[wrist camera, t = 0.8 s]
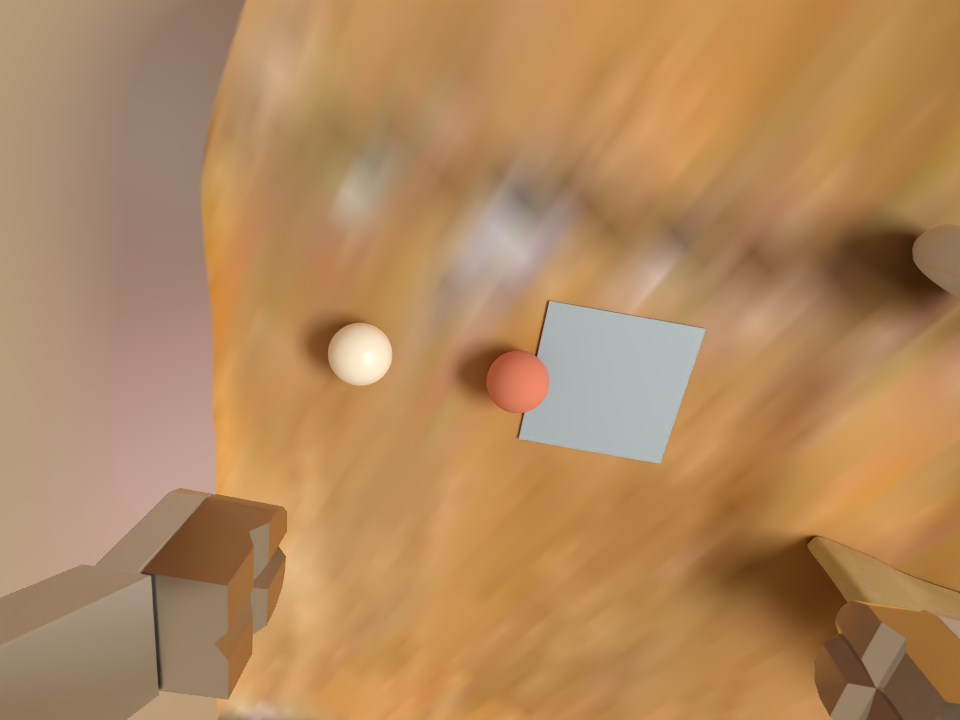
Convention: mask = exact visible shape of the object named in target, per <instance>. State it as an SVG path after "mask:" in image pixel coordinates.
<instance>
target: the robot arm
mask: <svg viewBox="0 0 960 720" xmlns="http://www.w3.org/2000/svg"><path fill="white" fill-rule="evenodd" d="M286 532H287V511H286V510H285V509H284V507H282V506H277V505H271V504H266V503H261V502H255V501H250V500H244V499H239V498H234V497H228V496H223V495H218V494H215V495H213V494H210V493H205V492H199V491H193V490H187V489H181V488H180V489H177V490H174V491H171V492H170V493H168V494H167V495H166V496H165V497H164V498H163V499H162V500H161V501H160V502H159V503H158V504H157V505H156V506H155V507H154V508H153V509H152V510H151V511H150V512H149V513H148V514H147V515H146V516H145V517H144V518H143V519H142V520H141V521H140V522H139V523H138V524H137V525H136V526H135V527H134V528H133V529H132V530H131V531H130V532H129V533H128V534H127V535H126V536H125V537H124V538H123V539H121V540H120V541H119V542H118V543H117V544H116V545H115V546H114V547H113V548H112V549H111V550H110V551H109V552H108V553H107V554H106V555H105V556H104V557H103V558H102V559H101V560H100V561H99V562H98V563H97V564H96V565H95V566H89V565H80V566H77V567H75V568H72V569H70V570H67V571H65V572H62V573H60V574H58V575H55V576H53V577H50V578H48V579H45V580H43V581H40V582H38V583H36V584H33V585H31V586H28V587H26V588H23V589H21V590H18V591H16V592H14V593H11V594H9V595H6V596H4V597H1V598H0V720H127V719H128V718H129V717H131V716H132V715H133V714H134V713H136V712H137V711H139V710H140V709H141V708H143V707H144V706H145V705H146V704H148V703H149V702H150V701H152V700H153V699H154V698H156V697H157V696H158V695H159V691H166V692H174V693H182V694H189V695H197V696H206V697H213V698H221V699H229V697H230V695H231V693H232V691H233V689H234V687H235V685H236V683H237V681H238V680H239V678H240V676H241V674H242V672H243V670H244V668H245V666H246V664H247V662H248V660H249V658H250V657H251V655H252V638H253V634H254V633H256V632H257V631H259V630H260V629H262V628H264V627H265V626H266V625H267V623H268V621H269V619H270V617H271V615H272V613H273V611H274V609H275V607H276V604H277V601H278V598H279V595H280V592H281V589H282V584H283V579H284V573H285V561H286V556H285V555H284V553H283V552H282V550H281V549H280V548H279V544H280V542H281V540H282V539H283V537H284V535H285V533H286ZM834 621H835V624H836V627H837V630H838V633H839V634H837V635H836V636H834V637H832V638H831V639H829V640H827V641H826V642H824V643H823V644H822V646H821V648H820V650H819V652H818V655H817V657H816V659H815V684H816V687H817V690H818V694H819V697H820V699H821V701H822V703H823V705H824V707H825V708H826V710H827V712H828V714H829V716H830V717H831V718H832V719H834V720H960V615H954V614H947V613H940V612H933V611H925V610H922V611H918V610H912V609H906V608H899V607H893V606H887V605H880V604H874V603H868V602H861V601H855V600H851V601H849V602H848V603H847V604H845V605H844V606H842V607H841V609H840V611H839V613H838V614H837V616H836V618H835V620H834Z"/></svg>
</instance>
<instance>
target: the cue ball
mask: <svg viewBox="0 0 960 720" xmlns="http://www.w3.org/2000/svg"><path fill="white" fill-rule="evenodd" d="M328 360H329V364H330V366H331V368H332V370H333V372H334V373H335V374H336V375H337V376H338V377H339V378H340V379H341V380H343V381H344V382H346V383H349V384H352V385H358V386H363V385H368V384H372V383H374V382H376V381H378V380H379V379H380V378H382V377H383V376H384V375H385V373H386V372H387V371H388V369H389V367H390V364H391V361H392V348H391V344H390V342H389V340H388V338H387V336H386V335H385V334H384V333H383V332H382V331H381V330H380V329H379V328H377V327H375V326H373V325H371V324H367V323H353V324H349V325H347V326H345V327H343V328H341V329H340V330H339V331H338V332H337V333H336V334H335V335H334V337H333V338H332V340H331V342H330V345H329V348H328Z"/></svg>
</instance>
